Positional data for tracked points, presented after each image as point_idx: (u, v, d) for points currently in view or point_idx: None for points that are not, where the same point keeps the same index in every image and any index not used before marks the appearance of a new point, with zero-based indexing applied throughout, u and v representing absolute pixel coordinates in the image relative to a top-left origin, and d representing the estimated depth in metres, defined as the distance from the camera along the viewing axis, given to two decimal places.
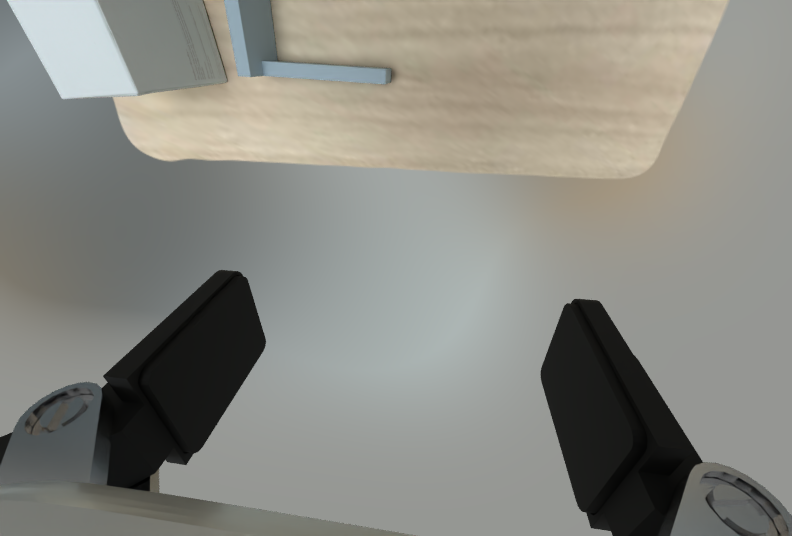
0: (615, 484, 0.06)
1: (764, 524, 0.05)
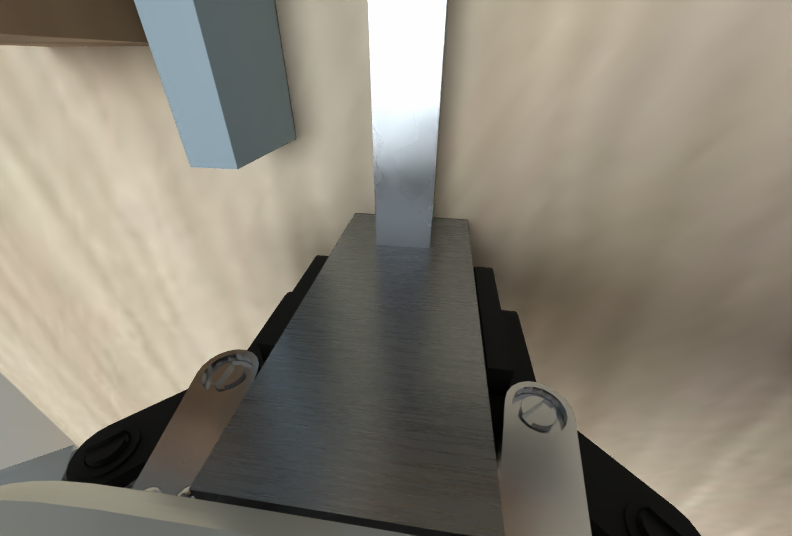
0: None
1: (553, 414, 0.06)
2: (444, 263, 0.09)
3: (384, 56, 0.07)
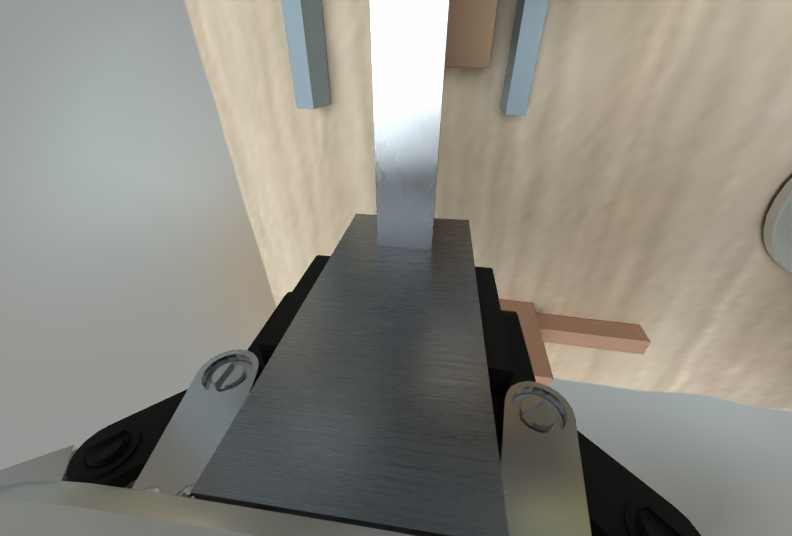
0: None
1: (554, 414, 0.06)
2: (446, 265, 0.09)
3: (386, 57, 0.07)
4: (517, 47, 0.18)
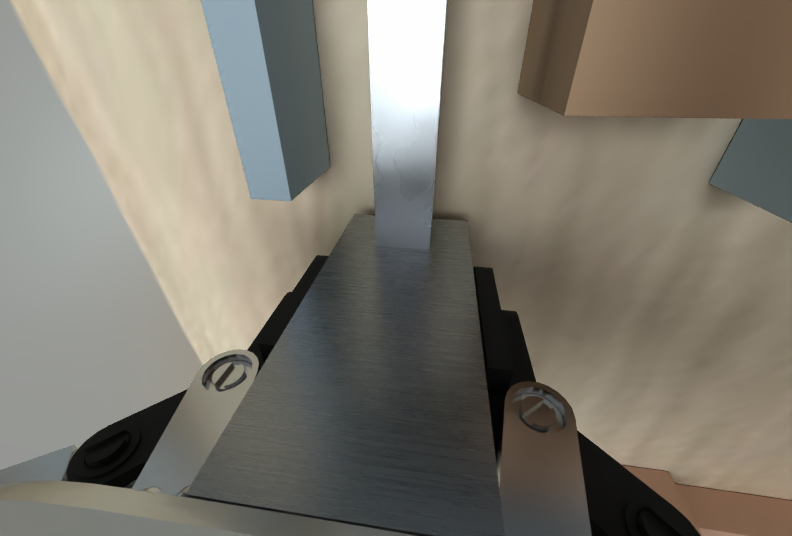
0: None
1: (553, 414, 0.06)
2: (444, 265, 0.09)
3: (383, 56, 0.07)
4: None
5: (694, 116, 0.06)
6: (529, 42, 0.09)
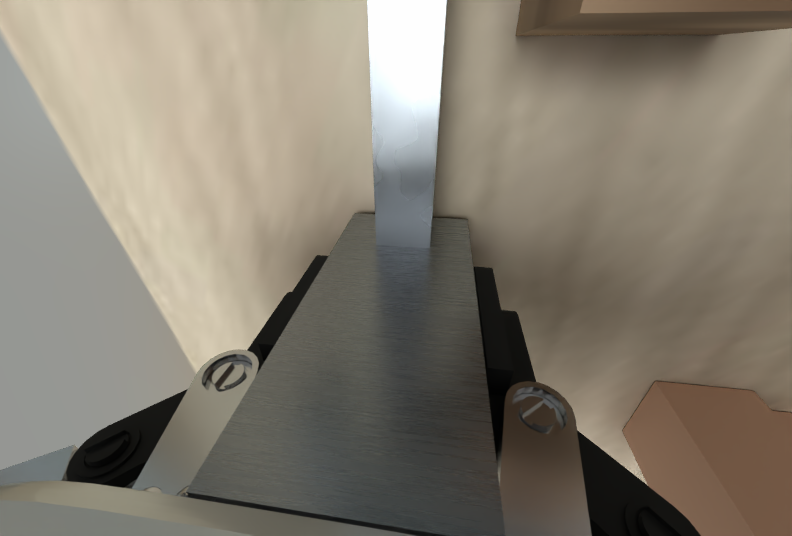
0: None
1: (553, 414, 0.06)
2: (445, 264, 0.09)
3: (384, 55, 0.07)
4: None
5: (749, 8, 0.04)
6: None
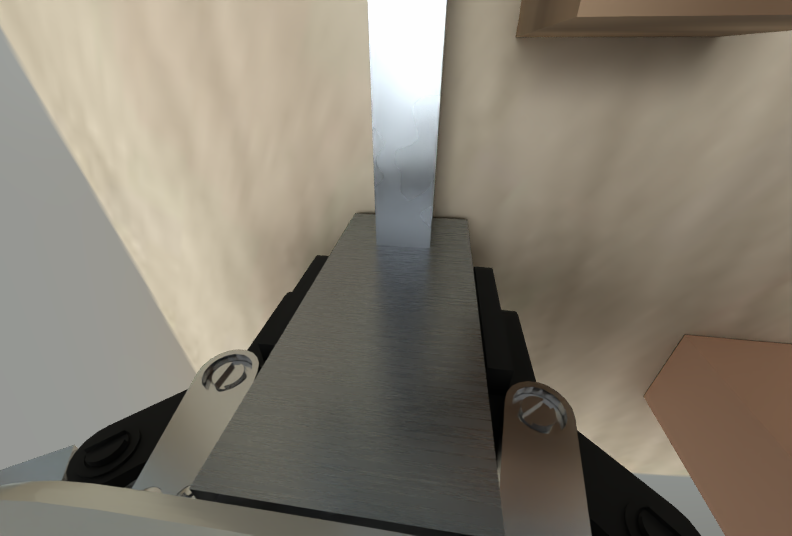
0: None
1: (554, 414, 0.06)
2: (444, 263, 0.09)
3: (384, 56, 0.07)
4: None
5: (742, 12, 0.04)
6: None
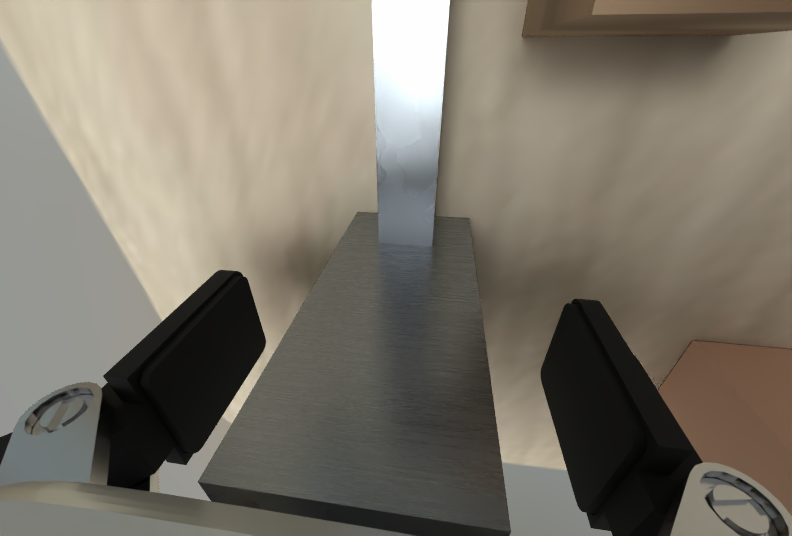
0: (615, 484, 0.06)
1: (763, 523, 0.05)
2: (447, 262, 0.09)
3: (387, 56, 0.07)
4: None
5: (769, 9, 0.04)
6: None
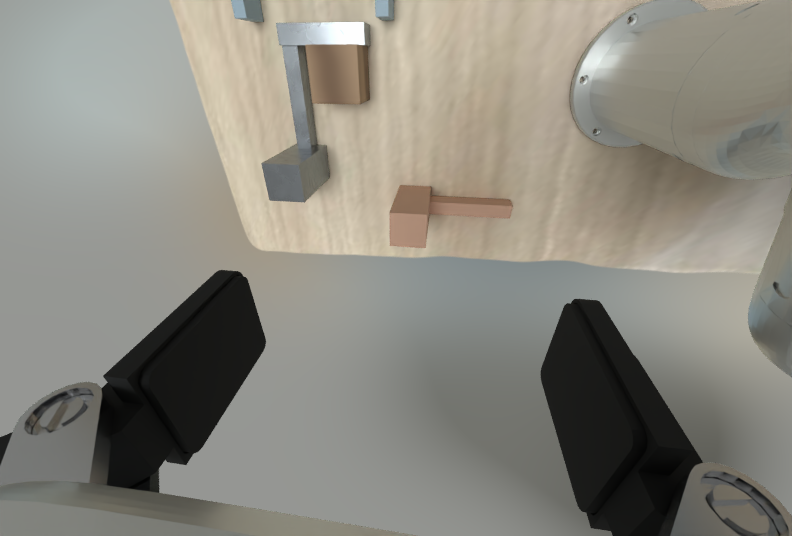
0: (615, 484, 0.06)
1: (763, 523, 0.05)
2: (312, 150, 0.38)
3: (294, 104, 0.36)
4: None
5: (332, 103, 0.33)
6: None
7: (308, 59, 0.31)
